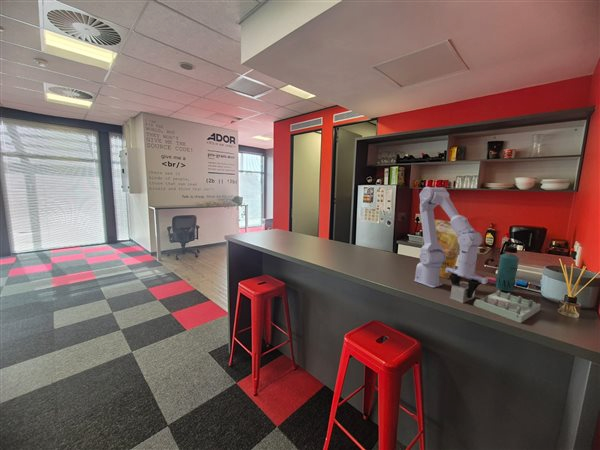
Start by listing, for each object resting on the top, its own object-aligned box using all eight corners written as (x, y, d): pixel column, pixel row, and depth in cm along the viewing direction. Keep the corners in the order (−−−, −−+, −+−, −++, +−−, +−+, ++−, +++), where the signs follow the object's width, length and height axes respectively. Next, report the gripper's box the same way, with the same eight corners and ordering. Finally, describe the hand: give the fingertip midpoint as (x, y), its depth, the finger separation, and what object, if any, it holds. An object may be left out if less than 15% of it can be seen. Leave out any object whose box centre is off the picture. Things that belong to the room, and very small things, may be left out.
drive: (450, 298, 100) (451, 285, 99) (461, 293, 105) (463, 281, 104) (462, 302, 96) (464, 289, 95) (474, 298, 101) (475, 284, 100)
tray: (473, 305, 94) (475, 295, 93) (494, 295, 103) (496, 286, 103) (520, 323, 82) (522, 311, 82) (539, 310, 92) (541, 300, 91)
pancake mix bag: (421, 268, 138) (426, 217, 133) (459, 278, 123) (467, 222, 119) (415, 270, 134) (420, 218, 129) (453, 281, 119) (461, 223, 114)
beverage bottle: (490, 289, 110) (497, 245, 107) (500, 287, 112) (507, 244, 109) (507, 295, 104) (515, 249, 101) (517, 293, 106) (525, 248, 103)
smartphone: (497, 283, 117) (462, 273, 128) (497, 285, 117) (462, 275, 129) (502, 280, 121) (468, 271, 133) (502, 282, 121) (467, 272, 133)
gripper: (442, 258, 102) (439, 290, 104) (483, 269, 90) (478, 304, 92) (452, 256, 106) (448, 287, 108) (492, 266, 93) (486, 300, 95)
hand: (462, 294), depth 100 cm, fingers closed on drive, 5 cm apart
